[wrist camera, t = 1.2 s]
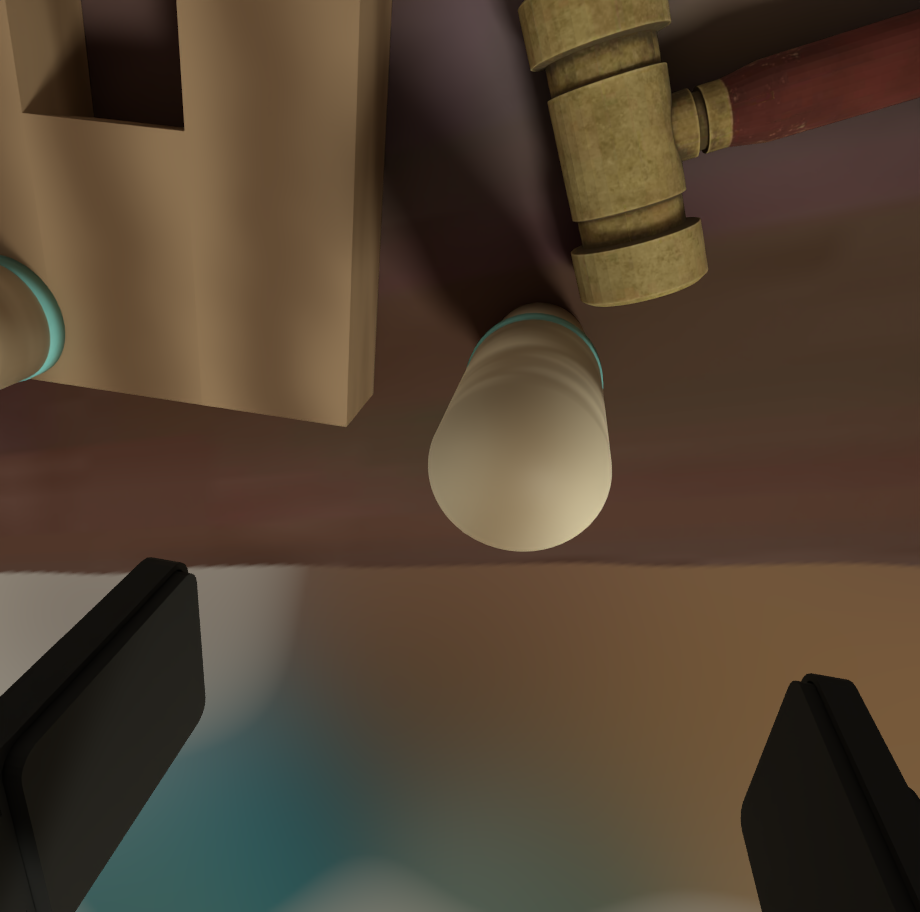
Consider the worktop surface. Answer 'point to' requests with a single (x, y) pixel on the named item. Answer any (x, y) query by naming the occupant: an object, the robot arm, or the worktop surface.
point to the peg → (525, 435)
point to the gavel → (681, 126)
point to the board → (199, 210)
